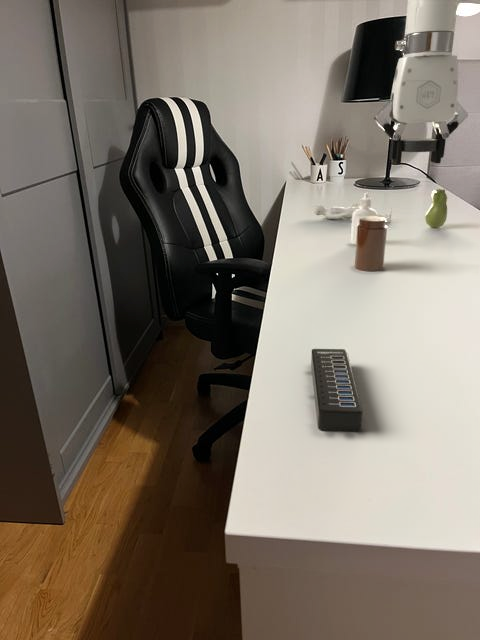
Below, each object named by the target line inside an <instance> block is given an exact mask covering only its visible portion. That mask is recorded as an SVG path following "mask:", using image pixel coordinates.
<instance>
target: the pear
mask: <svg viewBox="0 0 480 640" xmlns="http://www.w3.org/2000/svg"><path fill="white" fill-rule="evenodd" d="M430 198H431V205H430V207H429V208H428V211H426V213H425V216H424V217H425V218H424V219H425V222H426V225H428V226H429V227H430V228H440V227H443V225H444V224H445V223H446V222H447V218H448V205H447V201H448V196H447V193H446V189H441V188H438V189H435V190H432V191H431V195H430Z"/></svg>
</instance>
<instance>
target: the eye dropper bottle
mask: <svg viewBox="0 0 480 640" xmlns="http://www.w3.org/2000/svg"><path fill="white" fill-rule="evenodd" d="M359 206H360V207H359V208H360V209H357V210H355V211H354V212H353V214H352V219H351V229H350V243H351V244H352V245H354V246H356V235H357V225H359V221H360V220H359V219H360V218H361V217H365V216H377V214H378V212H377V211H376V210H375V209H373V208H372V207H371V206H372V199H371V198H370V197H369V192H364V194H363V197H361V198H360V201H359Z"/></svg>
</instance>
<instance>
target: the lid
mask: <svg viewBox="0 0 480 640" xmlns="http://www.w3.org/2000/svg"><path fill="white" fill-rule="evenodd" d="M401 140H402V141H403V145H402V153H430V152H432V151H436V147H437V139H434V138H401Z"/></svg>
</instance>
